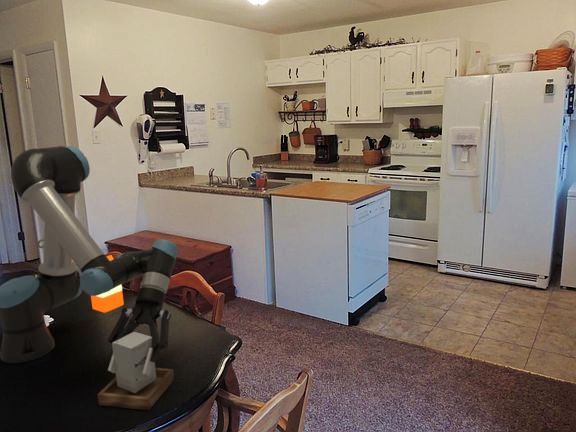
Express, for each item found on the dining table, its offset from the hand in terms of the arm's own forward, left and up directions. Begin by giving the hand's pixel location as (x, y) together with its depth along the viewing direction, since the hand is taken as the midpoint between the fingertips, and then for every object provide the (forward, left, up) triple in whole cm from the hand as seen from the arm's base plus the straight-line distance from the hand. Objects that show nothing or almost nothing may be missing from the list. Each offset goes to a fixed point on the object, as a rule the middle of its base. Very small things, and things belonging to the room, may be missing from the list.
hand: (128, 373), depth 117 cm
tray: (0, +3, -7) cm, 8 cm away
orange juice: (-42, +54, -7) cm, 69 cm away
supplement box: (0, +3, -5) cm, 6 cm away
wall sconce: (-72, +63, -7) cm, 96 cm away
